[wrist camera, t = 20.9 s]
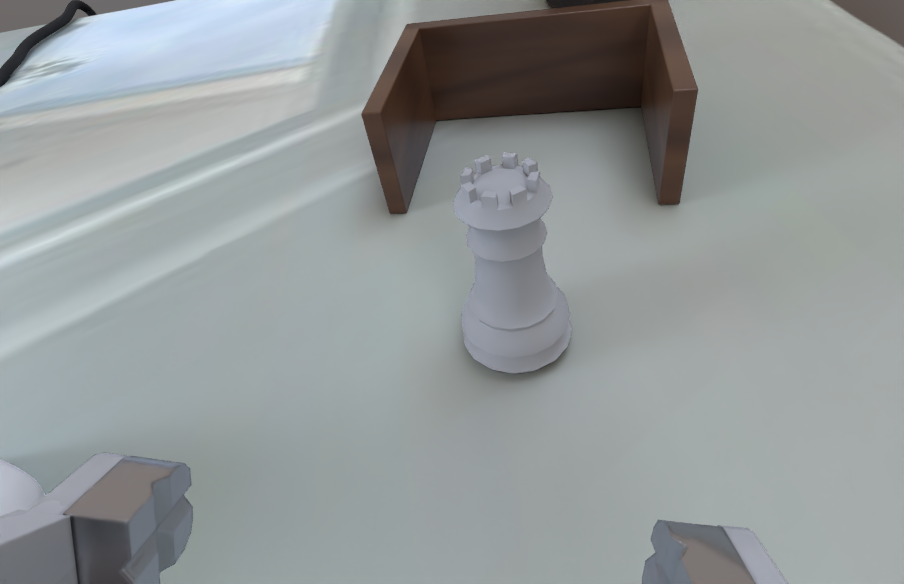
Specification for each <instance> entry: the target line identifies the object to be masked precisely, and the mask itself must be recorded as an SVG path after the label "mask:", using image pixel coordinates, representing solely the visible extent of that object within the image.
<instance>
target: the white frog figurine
mask: <svg viewBox="0 0 904 584" xmlns="http://www.w3.org/2000/svg"><path fill="white" fill-rule="evenodd" d="M46 495H47V494H45V493H43V490H42V488H41V486H40V484H39V483H38V482H37V481H36V480H35V479H34V478H33V477H32V476H30V475H29V474H27V473H26V472H24V471H23V470H21V469H19V468H18V467H16V466H14V465H12V464H10V463H8V462H6V461H3V460H1V459H0V516H3V515H5V514H8V513H11V512H13V511H16V510H26V511H28V510H29V509H30V508H32V507H33V506H34V505H35V504H36V503H37V502H39V501H40V500H41V499H42V498H43V497H45V496H46Z"/></svg>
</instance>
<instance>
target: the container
mask: <svg viewBox="0 0 904 584" xmlns="http://www.w3.org/2000/svg"><path fill="white" fill-rule="evenodd" d="M546 1H547V3H548V4H549V5H550V6H551V7H553V8H563V7H572V6H582V5H591V4H601V3H610V2H619V1H629V0H546Z"/></svg>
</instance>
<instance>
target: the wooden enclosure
mask: <svg viewBox="0 0 904 584" xmlns="http://www.w3.org/2000/svg"><path fill="white" fill-rule="evenodd" d="M697 93H698V88H697V85H696V82H695V79H694V76H693V73H692V70H691V67H690V64H689V61H688V58H687V55H686V52H685V49H684V46H683V43H682V40H681V37H680V34H679V31H678V28H677V25H676V22H675V19H674V16H673V13H672V10H671V8H670V5H669V2H668V0H629V1H619V2H610V3H601V4H591V5H582V6H572V7H563V8H553V9H544V10H535V11H525V12H516V13H506V14H497V15H487V16H478V17H469V18H459V19H450V20H440V21H431V22H422V23H412V24H407V25H406V27H405V29H404V31H403V33H402V35H401V37H400V39H399V40H398V42H397V44H396V46H395V48H394V50H393V52H392V54H391V56H390V58H389V60H388V62H387V64H386V66H385V68H384V70H383V72H382V74H381V76H380V78H379V80H378V82H377V84H376V86H375V88H374V90H373V92H372V94H371V96H370V98H369V100H368V102H367V104H366V106H365V107H364V109H363V111H362V118H363V121H364V125H365V129H366V132H367V136H368V139H369V143H370V146H371V150H372V153H373V157H374V160H375V164H376V167H377V171H378V174H379V178H380V181H381V185H382V188H383V192H384V195H385V199H386V202H387V206H388V209H389V213H391V214H393V213H406V212H407V210H408V206H409V203H410V200H411V197H412V194H413V191H414V188H415V185H416V181H417V178H418V175H419V172H420V169H421V166H422V163H423V160H424V156H425V153H426V150H427V147H428V144H429V141H430V138H431V135H432V131H433V128H434V125H435V122H436V120H448V119H462V118H477V117H492V116H506V115H521V114H535V113H550V112H564V111H579V110H593V109H608V108H623V107H637V106H641V109H642V114H643V120H644V125H645V131H646V136H647V142H648V148H649V153H650V159H651V164H652V170H653V176H654V181H655V187H656V192H657V198H658V203H659V204H679V203H680V198H681V191H682V185H683V179H684V173H685V167H686V161H687V154H688V148H689V142H690V136H691V130H692V124H693V117H694V111H695V105H696V99H697Z"/></svg>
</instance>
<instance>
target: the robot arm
mask: <svg viewBox="0 0 904 584" xmlns="http://www.w3.org/2000/svg"><path fill="white" fill-rule="evenodd" d="M77 9H81V10H83V11H84V12H85V13H86V14H87V15H88V16H94V15H97V14H96V13H95V11H94V10H93V9H92V8H90V6H88V5H87V4H85V3H84V2H82V1H79V0H73V1H71V2H70V3H69V4H68V5H67V7H66V9H65V11H64V13H63V14H62V15H61V16H60V17H58V18H57V19H55V20H54V21H52V22H50V23H49V24H47V25H45V26H44V27H42V28H40V29H39V30H37V31H35V32H34V33H32V34H31V35H30V36H28V37H27V38H26V39H25V40H24V41H22V43H21V44H20V45H19V46H18V47H17V49H16V50H15V52H14V53H13V55H12V56H11V57H10V58H9V59H8V60H7V61H6V62H5V64H4V65H3V66H2V67H1V68H0V87H1V86H2V85H3V84H4V83H5V82H6V81H7V79H8V78H9V77H10V75H11V74H12V73H13V72H14V70H15V69H16V68H17V67H18V66H19V65H20V64H21V63H22V61H23V60H24V58H25V57H26V55H27V53H28V52H29V50H30V49H31V48H32V47H34V46H35V45H36V44H37V43H39V42H40V41H41V40H43V39H44V38H46V37H48V36H49V35H51V34H52V33H54V32H56V31H57V30H59V29H60V28H62V27H63V26H65V25H66V24H68V23H69V22H70V20H71V19H72V18H73V16H74V14H75V12H76V10H77ZM190 486H191V474H190V468H189V467H188V466H187V465H186V464H185V463H178V462H171V461H164V460H157V459H150V458H143V457H136V456H127V455H120V454H111V453H99V454H95V455H93V456H92V457H91V458H90V459H89V460H87V461H86V462H85V463H84V464H83V465H81V466H80V467H79V468H78V469H77V470H75V471H74V472H73V473H72V474H71V475H70V476H68V477H67V478H66V479H65V480H64V481H62V482H61V483H60V484H59V485H58V486H56V487H55V488H54V489H53V490H52V491H51V492H49V493H48V494H47V495H46V496H45V497H43V498H42V499H41V500H40V501H39V502H37V503H36V504H35V505H34V506H33V507H32V508H30V509H29V510H28V511H26V510H16V511H13V512H11V513H8V514H5V515H3V516H0V584H160V572H161V571H163V570H165V569H166V568H168V567H170V566H172V565H174V564H175V563H176V561H177V560H178V558H179V557H180V556H181V554H182V553H183V551H184V549H185V546H186V544H187V541H188V539H189V536H190V534H191V528H192V521H193V507H192V505H191V504H190V503H189V501H188V500H187V499H186V497H185V496H184V494H185V492H186V491H187V490H188V488H189V487H190ZM651 542H652V544H653V547H654V549H655V553H654V554H653V555H652V556H651V557H649V558H648V559H647V560H646V561H645V566H644V571H643V575H642V584H788V582H787V581H786V579H785V578H784V576H783V575H782V573H781V572H780V570H779V569H778V567H777V566H776V564H775V563H774V561H773V560H772V558H771V557H770V555H769V554H768V552H767V551H766V549H765V548H764V546H763V545H762V543H761V542H760V540H759V539H758V537H757V536H756V534H755V533H754V532H753V531H751V530H750V529H748V528H742V527H731V526H720V525H718V526H710V525H701V524H692V523H683V522H674V521H665V520H658V521H657V522H656V524H655V526H654V528H653V532H652V536H651Z"/></svg>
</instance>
